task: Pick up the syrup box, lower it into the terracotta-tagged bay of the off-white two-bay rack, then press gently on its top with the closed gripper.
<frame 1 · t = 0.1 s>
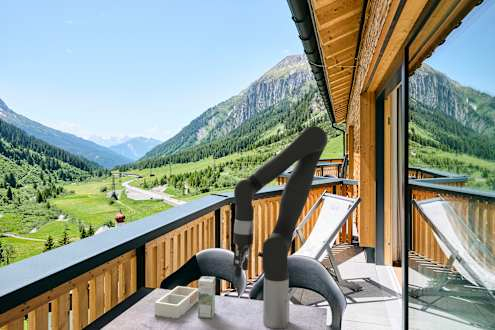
hand: (241, 273, 138), 17 cm above the table, tool pointing down, fingers open, 8 cm apart
syrup box: (206, 315, 141), on the table
rack: (177, 307, 148), on the table
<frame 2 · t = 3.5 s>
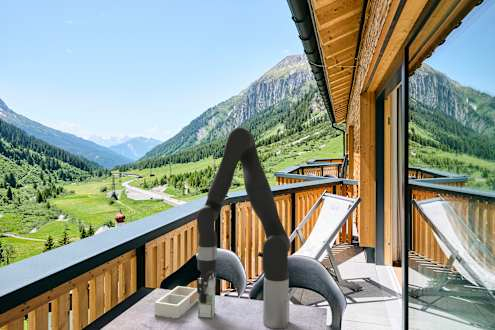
hand: (206, 299, 141), 6 cm above the table, tool pointing down, fingers closed on syrup box, 6 cm apart
syrup box: (206, 315, 141), on the table, touching gripper
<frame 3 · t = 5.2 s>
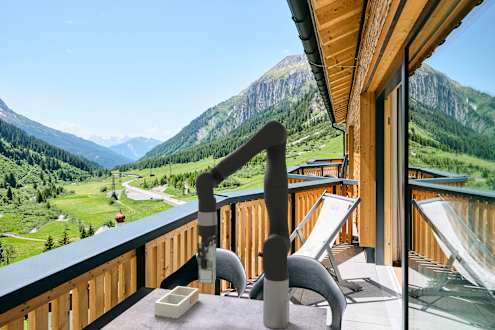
hand: (207, 265, 140), 19 cm above the table, tool pointing down, fingers closed on syrup box, 6 cm apart
syrup box: (207, 282, 141), point 13 cm above the table, touching gripper
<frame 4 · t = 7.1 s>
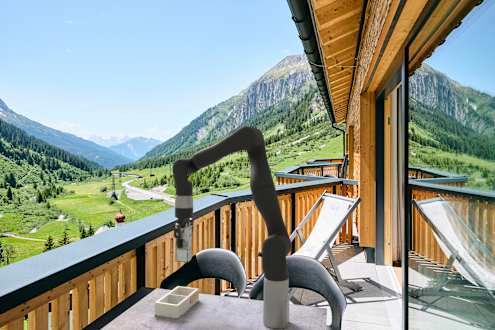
hand: (183, 245, 152), 24 cm above the table, tool pointing down, fingers closed on syrup box, 6 cm apart
syrup box: (183, 260, 152), point 18 cm above the table, touching gripper
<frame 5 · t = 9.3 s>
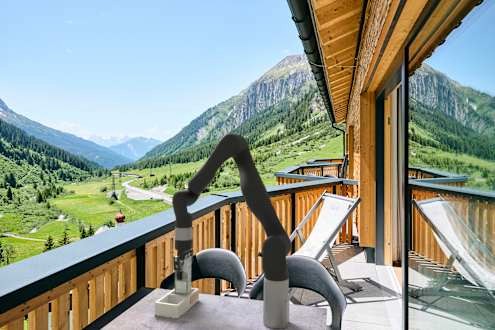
hand: (183, 277, 152), 11 cm above the table, tool pointing down, fingers closed on syrup box, 6 cm apart
syrup box: (182, 292, 152), point 5 cm above the table, touching gripper
when the fingers open (9 cm above the table, at t = 10.9 s): syrup box drops 1 cm, resting on rack.
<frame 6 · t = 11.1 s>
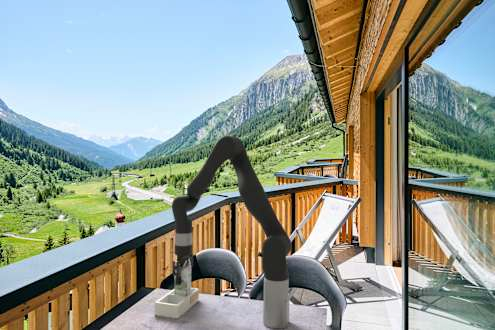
hand: (183, 281, 152), 9 cm above the table, tool pointing down, fingers open, 8 cm apart
syrup box: (182, 300, 152), point 1 cm above the table, touching rack
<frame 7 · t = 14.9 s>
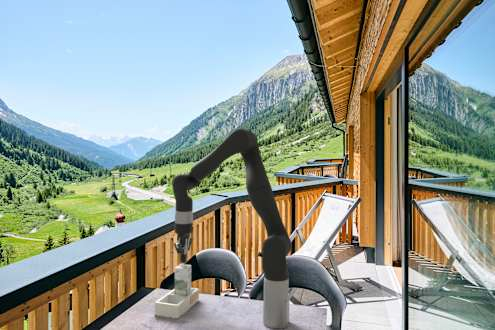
hand: (183, 262, 152), 17 cm above the table, tool pointing down, fingers closed
nothing on the table moved.
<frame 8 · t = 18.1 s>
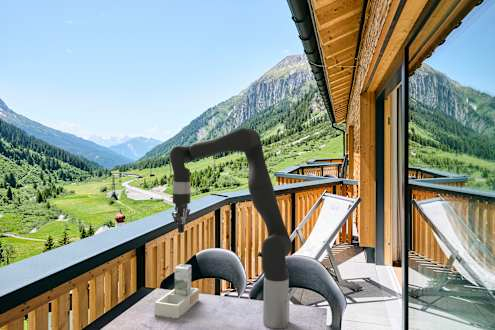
hand: (181, 232, 156), 29 cm above the table, tool pointing down, fingers closed
nothing on the table moved.
at the end: syrup box 0.3 cm from the target spot on the rack, point 1.1 cm above the rack's base; syrup box tilted 0°; the gripper is holding nothing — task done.
